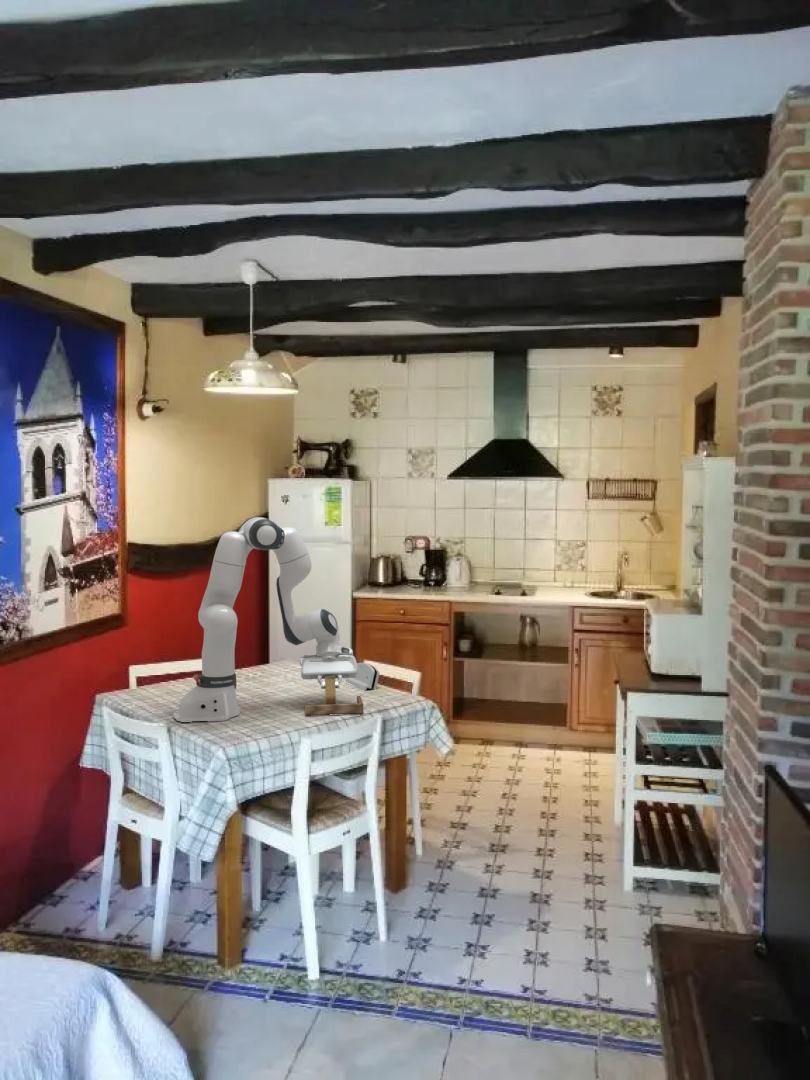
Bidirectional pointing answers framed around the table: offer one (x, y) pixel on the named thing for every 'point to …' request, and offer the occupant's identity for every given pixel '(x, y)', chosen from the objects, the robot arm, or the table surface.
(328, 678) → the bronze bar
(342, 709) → the corner tray
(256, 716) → the table surface
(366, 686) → the hinge
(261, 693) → the table surface
